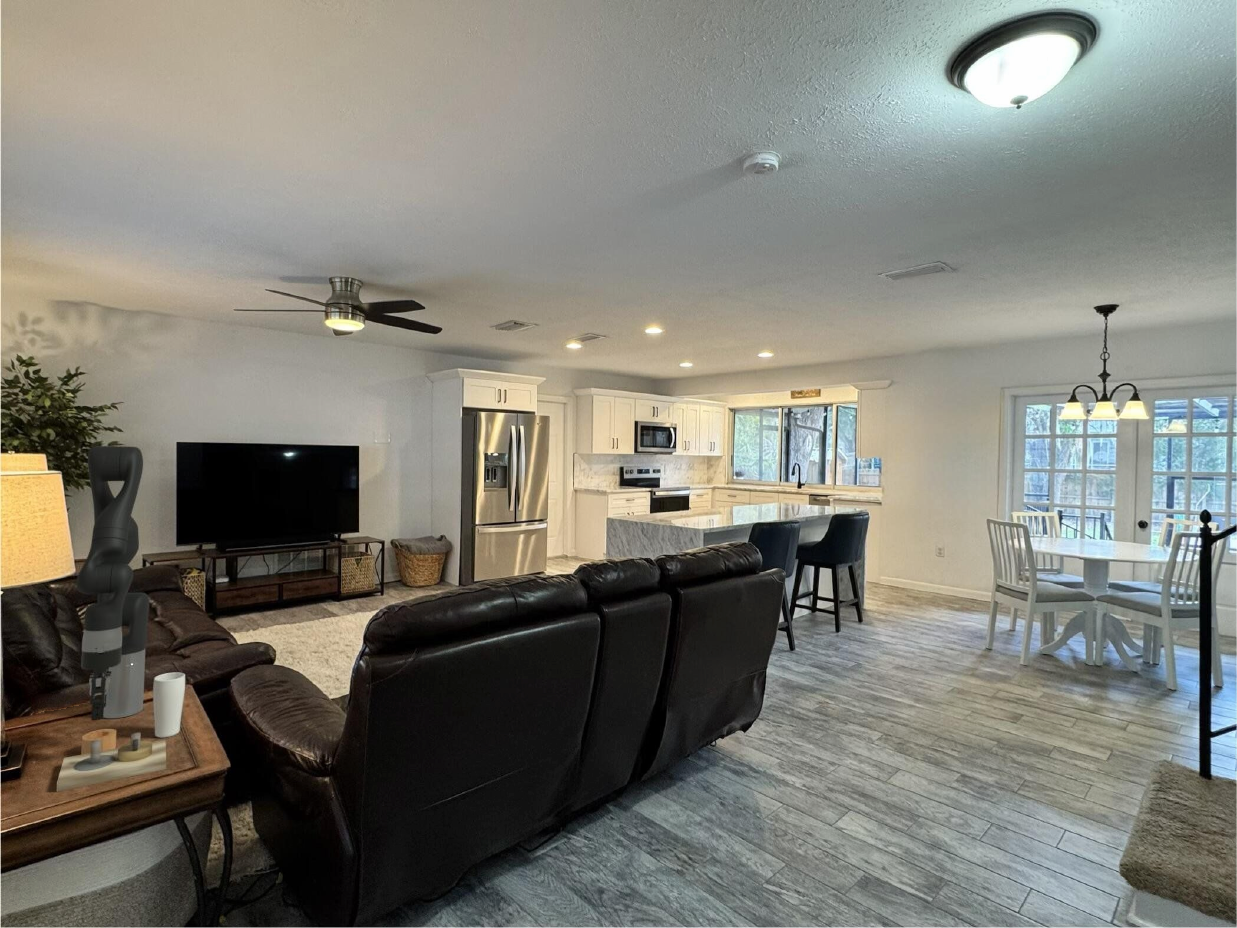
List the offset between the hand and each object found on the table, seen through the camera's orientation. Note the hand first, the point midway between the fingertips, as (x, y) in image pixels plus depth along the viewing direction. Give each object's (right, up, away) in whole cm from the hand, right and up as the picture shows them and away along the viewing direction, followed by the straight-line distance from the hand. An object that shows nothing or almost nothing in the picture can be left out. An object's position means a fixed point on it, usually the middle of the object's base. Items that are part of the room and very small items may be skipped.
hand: (98, 713), depth 152 cm
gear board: (+10, -10, -7) cm, 15 cm away
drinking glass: (+9, -10, +11) cm, 17 cm away
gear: (0, -9, 0) cm, 9 cm away
